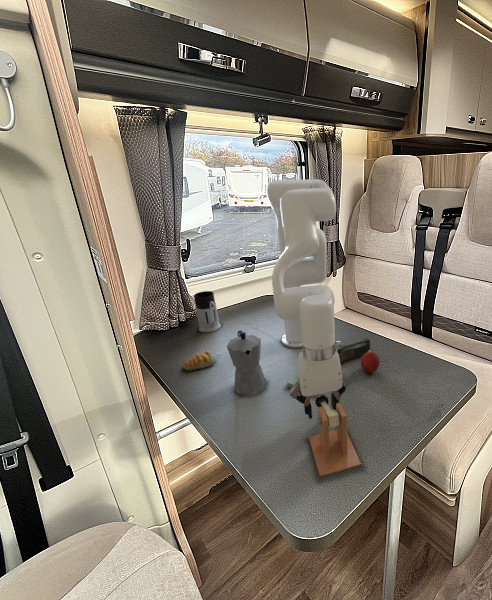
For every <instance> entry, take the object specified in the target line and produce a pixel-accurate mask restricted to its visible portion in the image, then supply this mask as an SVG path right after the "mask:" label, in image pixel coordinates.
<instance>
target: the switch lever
mask: <svg viewBox="0 0 492 600" xmlns="http://www.w3.org/2000/svg"><path fill="white" fill-rule="evenodd" d="M314 400H315V405H316V407H317V408H318V407H323V409H324V411H325V414H326V417H327V419H328V428H334V427H337V426H338V425H340V424H339V416H338V413H337V412H336V410H333V409H331V408H330V406H329V398H328V396H326V395H325V394H318V395H316V397H315V399H314Z"/></svg>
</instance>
